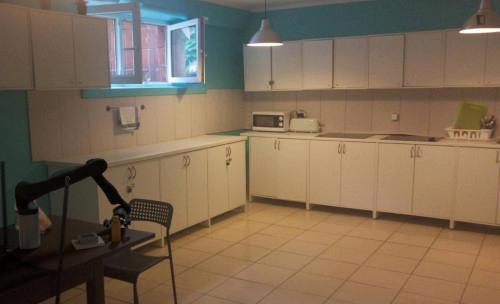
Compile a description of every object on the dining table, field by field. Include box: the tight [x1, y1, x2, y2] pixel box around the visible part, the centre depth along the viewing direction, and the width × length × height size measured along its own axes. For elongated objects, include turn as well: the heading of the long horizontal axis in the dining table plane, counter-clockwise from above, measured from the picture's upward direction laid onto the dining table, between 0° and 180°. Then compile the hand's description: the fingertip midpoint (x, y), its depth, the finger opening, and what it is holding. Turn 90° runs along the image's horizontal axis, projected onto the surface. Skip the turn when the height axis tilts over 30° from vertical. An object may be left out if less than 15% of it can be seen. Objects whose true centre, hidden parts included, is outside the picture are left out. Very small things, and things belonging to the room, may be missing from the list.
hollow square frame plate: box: [71, 232, 106, 251], centre depth 241 cm, size 14×12×4 cm
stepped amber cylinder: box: [110, 215, 122, 243], centre depth 246 cm, size 4×4×13 cm
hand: (116, 225), depth 248 cm, fingers open, 8 cm apart
